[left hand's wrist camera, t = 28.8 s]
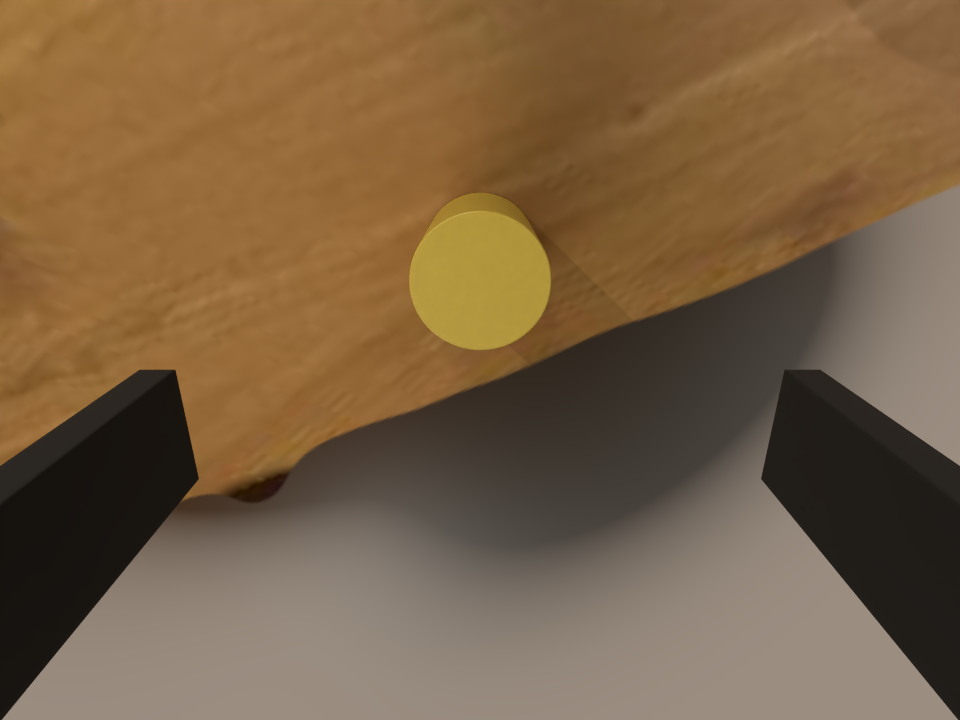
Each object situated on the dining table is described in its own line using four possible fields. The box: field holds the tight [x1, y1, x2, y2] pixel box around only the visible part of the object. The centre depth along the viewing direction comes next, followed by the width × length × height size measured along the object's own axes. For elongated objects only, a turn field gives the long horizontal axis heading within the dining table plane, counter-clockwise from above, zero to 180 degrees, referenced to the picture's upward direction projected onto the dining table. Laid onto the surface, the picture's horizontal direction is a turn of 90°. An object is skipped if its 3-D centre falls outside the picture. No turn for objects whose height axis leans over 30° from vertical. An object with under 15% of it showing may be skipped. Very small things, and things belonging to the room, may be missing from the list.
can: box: [409, 193, 552, 350], centre depth 28 cm, size 6×6×8 cm
